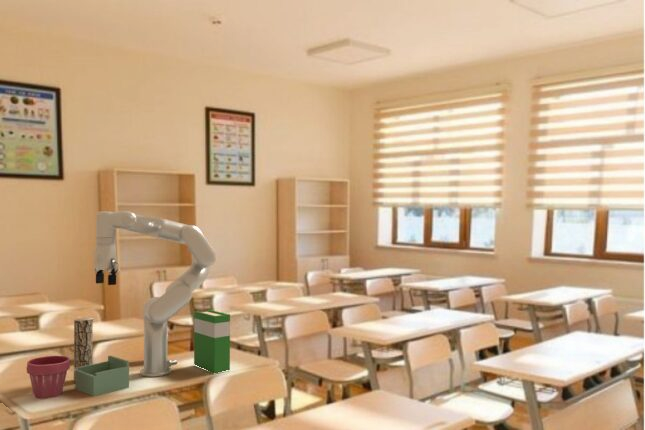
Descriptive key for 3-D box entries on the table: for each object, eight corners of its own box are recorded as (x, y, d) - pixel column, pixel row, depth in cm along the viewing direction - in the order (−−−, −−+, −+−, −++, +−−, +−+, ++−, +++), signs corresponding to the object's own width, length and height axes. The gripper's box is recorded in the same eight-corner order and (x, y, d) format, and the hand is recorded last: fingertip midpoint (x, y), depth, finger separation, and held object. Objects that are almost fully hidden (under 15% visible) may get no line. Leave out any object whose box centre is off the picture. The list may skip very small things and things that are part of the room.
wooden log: (85, 383, 211) (85, 319, 212) (69, 382, 212) (70, 318, 213) (95, 378, 218) (96, 316, 218) (80, 377, 219) (81, 316, 220)
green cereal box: (194, 365, 238) (194, 311, 238) (208, 363, 243) (209, 309, 243) (214, 373, 225) (214, 316, 225) (229, 370, 229) (230, 314, 230)
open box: (110, 380, 215) (110, 355, 215) (129, 387, 206) (129, 361, 206) (75, 388, 204) (75, 362, 204) (93, 396, 195) (93, 368, 195)
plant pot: (76, 394, 197) (76, 359, 197) (35, 404, 187) (36, 366, 187) (60, 386, 207) (60, 353, 207) (20, 395, 196) (20, 360, 197)
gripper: (86, 241, 221) (86, 283, 221) (108, 242, 210) (107, 286, 210) (104, 241, 227) (103, 281, 227) (126, 242, 216) (125, 284, 215)
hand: (105, 284), depth 218 cm, fingers open, 9 cm apart
